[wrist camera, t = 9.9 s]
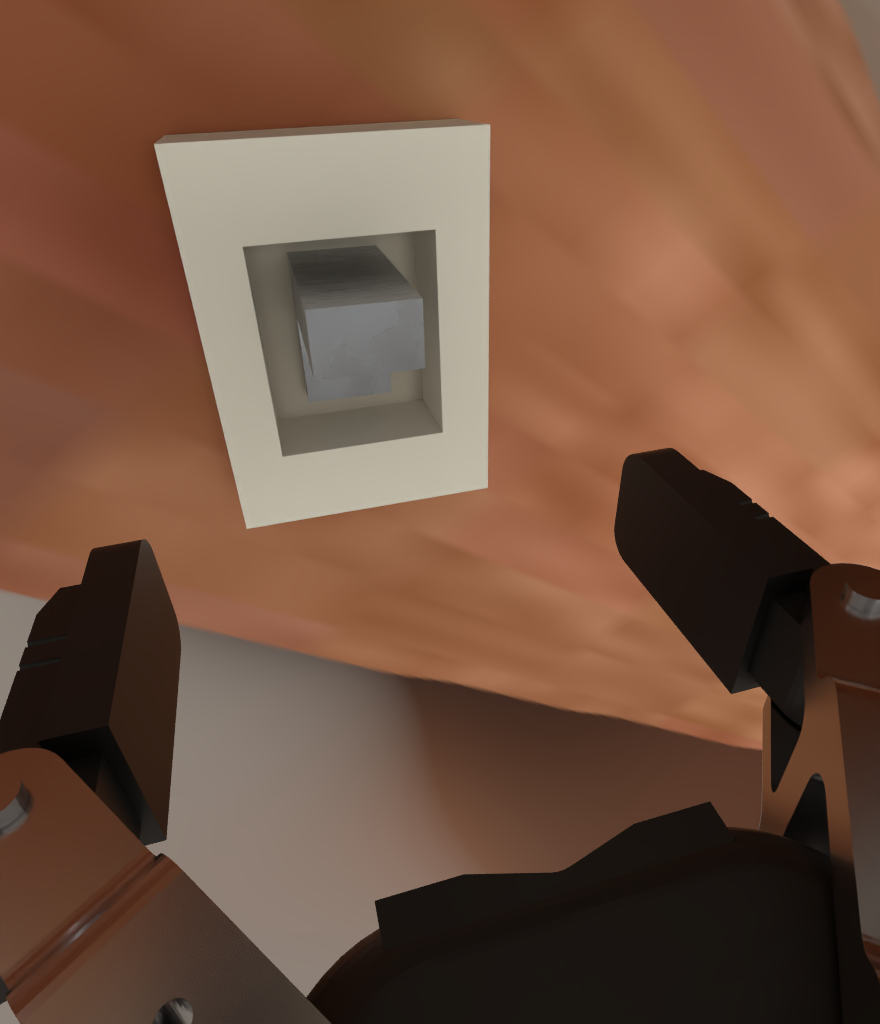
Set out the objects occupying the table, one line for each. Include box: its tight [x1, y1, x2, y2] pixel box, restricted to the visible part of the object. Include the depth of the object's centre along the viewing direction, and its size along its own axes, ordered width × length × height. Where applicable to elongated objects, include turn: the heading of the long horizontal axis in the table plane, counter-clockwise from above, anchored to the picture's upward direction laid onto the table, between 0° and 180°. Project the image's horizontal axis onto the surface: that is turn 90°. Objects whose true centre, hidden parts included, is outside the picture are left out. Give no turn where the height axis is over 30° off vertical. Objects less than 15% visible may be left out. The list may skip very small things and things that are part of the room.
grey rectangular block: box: [287, 245, 425, 402], centre depth 28 cm, size 6×4×9 cm, turn 2°
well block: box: [154, 119, 490, 529], centre depth 30 cm, size 16×12×4 cm
